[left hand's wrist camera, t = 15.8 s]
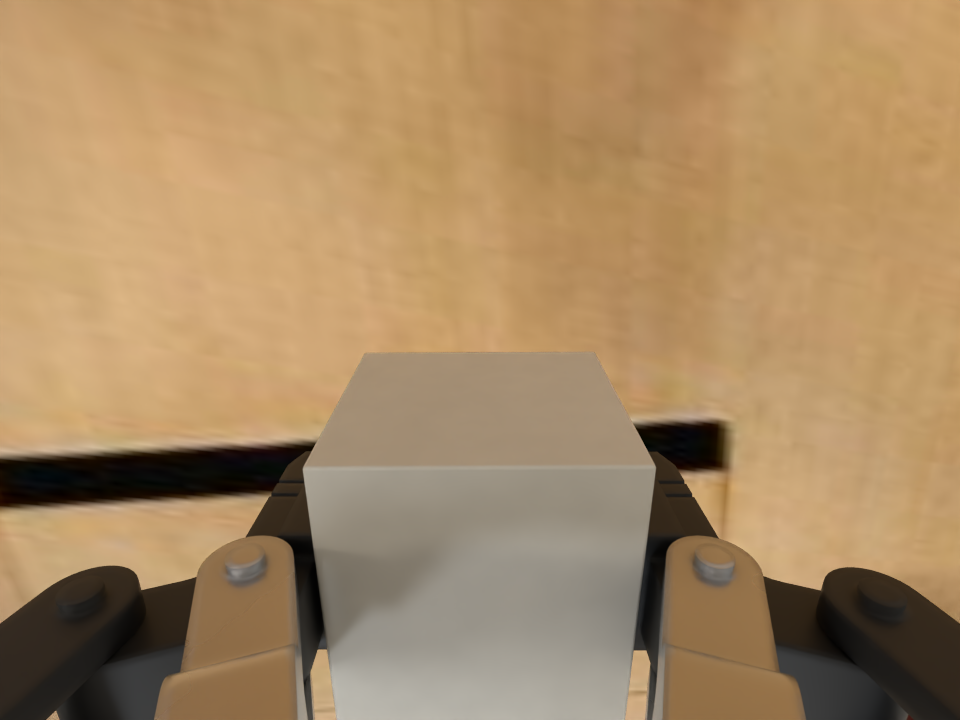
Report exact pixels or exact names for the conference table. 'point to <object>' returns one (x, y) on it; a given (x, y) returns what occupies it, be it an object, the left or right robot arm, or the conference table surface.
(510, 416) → the block
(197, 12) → the conference table surface
